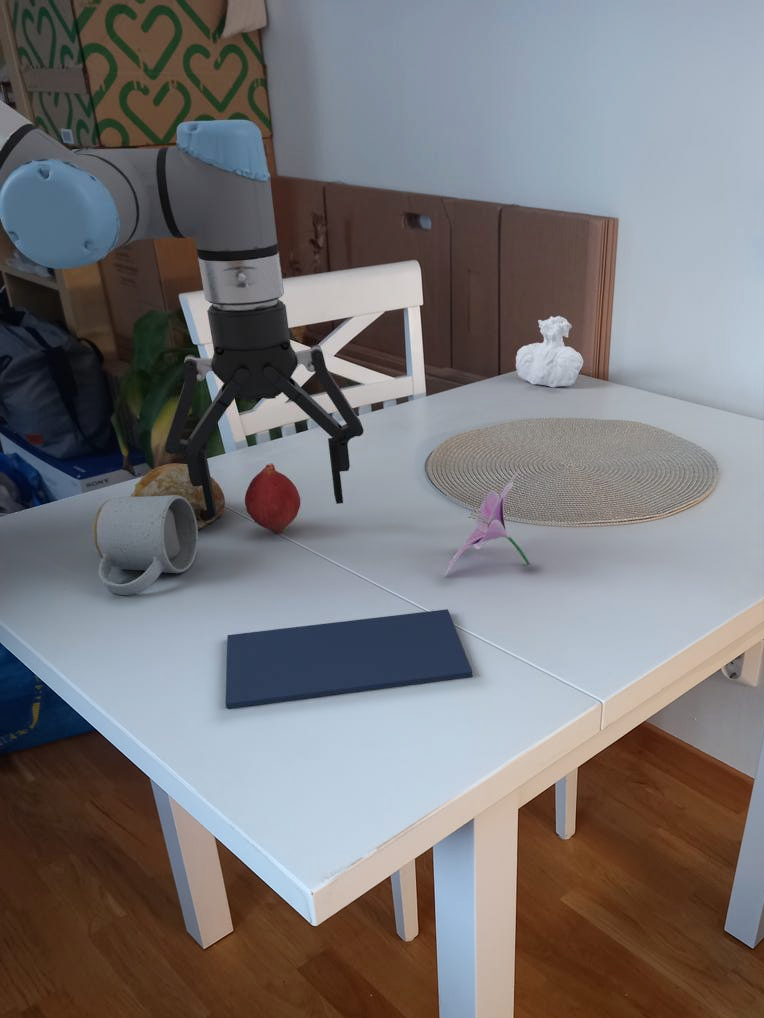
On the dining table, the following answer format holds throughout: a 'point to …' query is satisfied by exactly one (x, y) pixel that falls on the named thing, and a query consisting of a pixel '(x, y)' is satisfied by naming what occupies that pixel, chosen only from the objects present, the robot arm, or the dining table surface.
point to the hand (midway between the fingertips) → (276, 506)
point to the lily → (489, 523)
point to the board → (342, 658)
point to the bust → (550, 357)
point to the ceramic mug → (144, 538)
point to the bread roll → (180, 490)
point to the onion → (272, 499)
